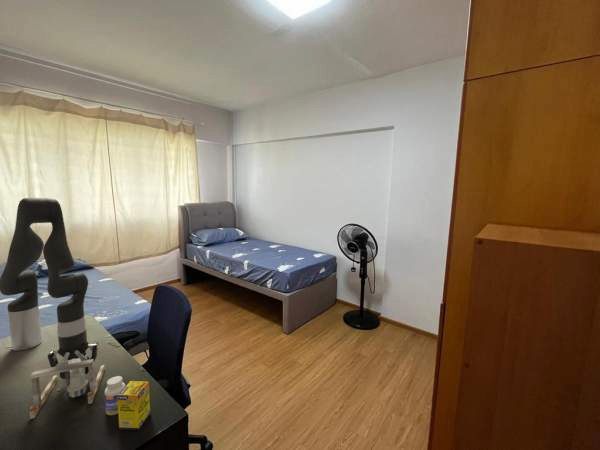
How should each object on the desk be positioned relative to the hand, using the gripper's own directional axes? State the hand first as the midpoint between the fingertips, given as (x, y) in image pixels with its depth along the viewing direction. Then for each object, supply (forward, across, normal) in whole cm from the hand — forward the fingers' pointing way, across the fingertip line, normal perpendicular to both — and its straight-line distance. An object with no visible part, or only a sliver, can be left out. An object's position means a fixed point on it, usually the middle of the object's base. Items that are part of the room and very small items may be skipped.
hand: (76, 375), depth 95 cm
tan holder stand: (+3, 0, +5) cm, 6 cm away
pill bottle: (+3, -15, +20) cm, 25 cm away
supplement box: (+3, -21, +28) cm, 35 cm away
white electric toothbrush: (+1, 0, 0) cm, 1 cm away
